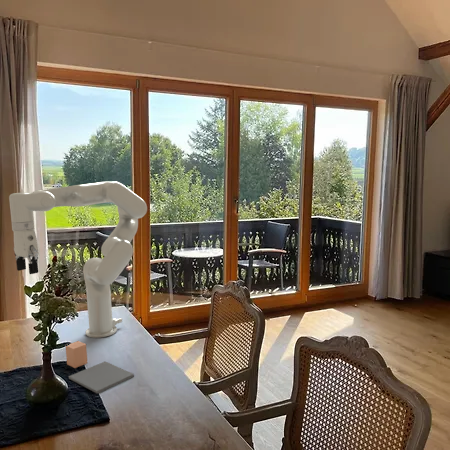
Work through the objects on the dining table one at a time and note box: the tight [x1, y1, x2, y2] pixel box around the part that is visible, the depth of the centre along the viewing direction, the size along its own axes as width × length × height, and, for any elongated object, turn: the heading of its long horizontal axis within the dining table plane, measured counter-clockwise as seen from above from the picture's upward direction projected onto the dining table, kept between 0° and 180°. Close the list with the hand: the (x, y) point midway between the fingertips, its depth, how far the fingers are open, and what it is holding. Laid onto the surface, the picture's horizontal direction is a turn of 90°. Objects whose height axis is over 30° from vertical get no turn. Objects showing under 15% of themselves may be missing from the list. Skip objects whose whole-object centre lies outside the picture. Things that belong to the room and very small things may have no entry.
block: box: [65, 340, 88, 369], centre depth 158 cm, size 5×5×7 cm
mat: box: [68, 361, 135, 394], centre depth 148 cm, size 14×16×1 cm
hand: (27, 271), depth 169 cm, fingers open, 9 cm apart
